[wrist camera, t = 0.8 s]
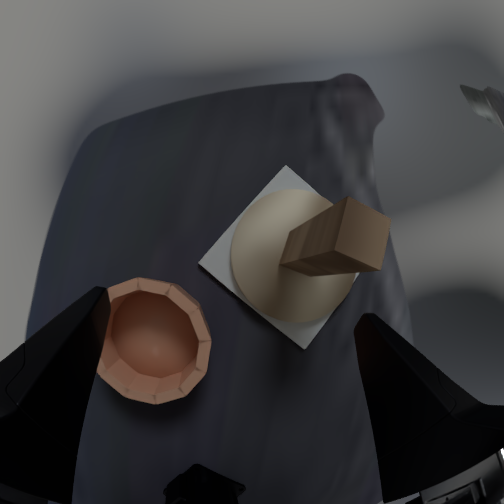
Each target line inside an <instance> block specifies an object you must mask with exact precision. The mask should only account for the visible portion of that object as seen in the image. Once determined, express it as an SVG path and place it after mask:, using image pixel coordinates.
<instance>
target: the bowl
mask: <svg viewBox="0 0 504 504" xmlns="http://www.w3.org/2000/svg"><path fill="white" fill-rule="evenodd" d="M107 290H108V293H109V299H110V304H111V313H110V318H109V322H108V326H107V331H106V336H105V341H104V346H103V350H102V354H101V358H100V361H99V364H98V368H97V372H98V374H99V375H100V374H101V375H100V377H101V378H103V379H104V380H105V381H106V382H107V383H108V384H109V385H111V386H112V387H113V388H114V389H115V390H117V391H118V392H119V393H120V394H121V395H123V396H125V397H126V398H130V399H134V400H138V401H142V402H146V403H151V404H160V403H164V402H168V401H171V400H175V399H178V398H182V397H185V395H186V396H187V394H188V393H189V392H190V391H191V390H192V389H193V388H194V387H195V386H196V384H197V383H198V382H199V381H200V380H201V379H202V378H203V376H204V375H205V374H206V372H207V367H208V360H209V354H210V347H211V335H210V329H209V327H208V324H207V322H206V319H205V316H204V314H203V311H202V308H201V306H200V304H199V302H198V301H196V300H195V299H194V298H193V297H192V296H191V295H189V294H188V293H187V292H186V291H185V290H184V289H182V288H181V287H180V286H179V285H177V284H174V283H169V282H164V281H159V280H154V279H149V278H139V277H138V278H134V279H132V280H129V281H126V282H123V283H121V284H118V285H115V286H112V287H110V288H108V289H107Z"/></svg>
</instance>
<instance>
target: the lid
mask: <svg viewBox="0 0 504 504" xmlns="http://www.w3.org/2000/svg"><path fill="white" fill-rule="evenodd" d="M390 223H391V219H390V218H388V217H386V216H384V215H383V214H381V213H379V212H377V211H375V210H374V209H372V208H370V207H368V206H366V205H364V204H362V203H360V202H358V201H357V200H355V199H353V198H351V197H349V196H348V197H346V198H344V199H343V200H341V201H339V202H338V203H336V204H334V205H333V204H332V203H331V202H329V201H328V200H327V199H325V198H323V197H322V196H320V195H318V194H315V193H313V192H310V191H305V190H300V189H285V190H279V191H276V192H272V193H270V194H268V195H266V196H263V197H262V198H260V199H259V200H257V201H256V202H255V203H254V204H253V205H251V206H250V207H249V209H248V210H247V211H246V212H245V213H244V215H243V216H242V218H241V220H240V221H239V223H238V225H237V227H236V229H235V232H234V235H233V238H232V244H231V266H232V270H233V274H234V277H235V280H236V282H237V285H238V287H239V288H240V290H241V292H242V293H243V295H244V296H245V297H246V299H247V300H248V301H249V302H250V303H251V304H252V305H253V306H254V307H256V308H257V309H258V310H259V311H261V312H263V313H264V314H266V315H268V316H270V317H273V318H275V319H277V320H281V321H285V322H293V323H299V322H308V321H312V320H315V319H318V318H321V317H323V316H325V315H327V314H328V313H330V312H331V311H333V310H334V309H335V308H336V307H337V306H338V305H339V304H340V303H341V302H342V301H343V300H344V298H345V297H346V295H347V294H348V292H349V291H350V289H351V287H352V284H353V282H354V279H355V275H356V273H360V272H370V271H380V270H381V267H382V262H383V258H384V254H385V249H386V244H387V239H388V234H389V229H390Z"/></svg>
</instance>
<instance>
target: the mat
mask: <svg viewBox="0 0 504 504" xmlns="http://www.w3.org/2000/svg"><path fill="white" fill-rule="evenodd" d="M285 189H300V190H305V191H310V192H313V193H315V194H318V193H317V192H316V191H315V190H314V189H313V188H312V187H310V186H309V185H308V184H307V183H306V182H305V181H304V180H302V179H301V178H300V177H299V176H298V175H297V174H296V173H294V172H293V171H292V170H291V169H290V168H289V167H287V166H286V165H285V166H284V167H283V169H282V170H281V171H280V172H279V173H278V174H277V175H276V176H275V177H274V178H273V179H272V180H271V182H270V183H269V184H268V185H267V186H266V187H265V188H264V189H263V190H262V191H261V192H260V194H259V195H258V196H257V197H256V198H255V199H254V200H253V201H252V202H251V203H250V205H249V206H248V207H247V208H246V209H245V210H244V211H243V212H242V214H241V215H240V216H239V217H238V218H237V219H236V220H235V221H234V223H233V224H232V225H231V226H230V227H229V228H228V229H227V230H226V232H225V233H224V234H223V235H222V236H221V237H220V238H219V240H218V241H217V242H216V243H215V244H214V245H213V246H212V248H211V249H210V250H209V251H208V252H207V253H206V255H205V256H204V257H203V258H202V259H201V260H200V262H199V264H200V265H201V266H202V267H204V268H205V269H206V270H207V271H208V272H209V273H211V274H212V275H213V276H214V277H215V278H216V279H218V280H219V281H220V282H221V283H222V284H224V285H225V286H226V287H227V288H228V289H229V290H231V291H232V292H233V293H234V294H235V295H237V296H238V297H239V298H240V299H241V300H243V301H244V302H245V303H246V304H248V305H249V306H250V307H251V308H252V309H254V310H255V311H256V312H257V313H259V314H260V315H261V316H262V317H264V318H265V319H266V320H267V321H269V322H270V323H271V324H272V325H274V326H275V327H276V328H277V329H279V330H280V331H281V332H282V333H284V334H285V335H286V336H287V337H289V338H290V339H291V340H293V341H294V342H295V343H296V344H298V345H299V346H300V347H302V348H303V349H306V348H307V346H308V345H309V344H310V342H311V341H312V340H313V338H314V337H315V336H316V335H317V333H318V332H319V331H320V329H321V328H322V326H323V325H324V324H325V322H326V321H327V320H328V318H329V317H330V316H331V314H332V313H333V311H334V310H335V309H336V308H335V309H334V310H333V311H331V312H330V313H328V314H327V315H325V316H323V317H321V318H318V319H315V320H312V321H308V322H299V323H293V322H285V321H281V320H277V319H275V318H273V317H270V316H268V315H266V314H264V313H263V312H261V311H259V310H258V309H257V308H256V307H254V306H253V305H252V304H251V303H250V302H249V301H248V300H247V299H246V297H245V296H244V295H243V293H242V292H241V290H240V288H239V287H238V285H237V282H236V280H235V277H234V274H233V270H232V266H231V244H232V238H233V235H234V232H235V229H236V227H237V225H238V223H239V221H240V220H241V218H242V216H243V215H244V213H245V212H246V211H247V210H248V209H249V207H250V206H251V205H253V204H254V203H255V202H256V201H257V200H259V199H260V198H262V197H263V196H266V195H268V194H270V193H272V192H276V191H279V190H285ZM318 195H319V194H318ZM358 275H359V273H356V275H355V279H356V278H357V276H358ZM355 279H354V281H355Z"/></svg>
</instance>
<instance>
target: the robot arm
mask: <svg viewBox="0 0 504 504" xmlns="http://www.w3.org/2000/svg"><path fill="white" fill-rule="evenodd" d="M110 313H111V304H110V299H109V293H108V290H107V288H104V287H98V286H96V287H94V288H93V289H91V290H90V291H88V292H87V293H86V294H84V295H83V296H82V297H80V298H79V299H78V300H76V301H75V302H74V303H72V304H71V305H70V306H69V307H67V308H66V309H65V310H63V311H62V312H61V313H60V314H58V315H57V316H56V317H54V318H53V319H52V320H51V321H49V322H48V323H47V324H46V325H44V326H43V327H42V328H41V329H40V330H38V331H37V332H36V333H35V334H33V335H32V336H31V337H30V338H29V339H27V340H26V341H25V343H23V344H21V345H20V346H19V347H18V348H17V349H16V350H14V351H13V352H12V353H11V354H10V355H8V356H7V357H6V358H5V359H3V360H2V361H1V362H0V504H48V500H49V501H53V502H56V503H60V504H71V503H72V493H73V483H74V475H75V467H76V461H77V454H78V448H79V442H80V437H81V432H82V427H83V422H84V418H85V413H86V409H87V405H88V401H89V397H90V393H91V389H92V385H93V382H94V378H95V374H96V371H97V368H98V364H99V361H100V358H101V354H102V350H103V346H104V341H105V336H106V331H107V326H108V322H109V318H110ZM354 338H355V344H356V351H357V358H358V364H359V370H360V374H361V378H362V383H363V387H364V391H365V396H366V400H367V405H368V410H369V415H370V420H371V425H372V430H373V435H374V441H375V446H376V452H377V459H378V466H379V473H380V480H381V488H382V496H383V502H384V503H388V502H392V501H395V500H397V499H401V498H404V497H407V496H409V495H412V494H415V493H418V492H419V494H420V496H418V497H417V498H415V499H413V500H411V501H409V502H406V503H405V504H504V406H503V405H487V404H483V403H481V402H479V401H478V400H477V399H475V398H474V397H473V396H471V395H470V394H469V393H467V392H466V391H465V390H464V389H462V388H461V387H460V386H459V385H457V384H456V383H455V382H453V381H452V380H451V379H450V378H449V377H448V376H446V375H445V374H444V373H443V372H442V371H441V370H440V369H438V368H437V367H436V366H435V365H434V364H433V363H432V362H430V361H429V360H428V359H427V358H426V357H425V356H424V355H423V354H421V353H420V352H419V351H418V350H417V349H416V348H415V347H413V346H412V345H411V344H410V343H409V342H408V341H406V340H405V339H404V338H403V337H402V336H401V335H399V334H398V333H397V332H396V331H395V330H393V329H392V328H391V327H390V326H389V325H388V324H386V323H385V322H384V321H383V320H382V319H380V318H379V317H378V316H377V315H376V314H374V313H364V314H363V315H362V316H361V318H360V320H359V321H358V323H357V325H356V326H355V328H354ZM196 468H199V469H196ZM240 488H242V489H240ZM245 490H246V488H245V486H244V485H242V484H240V483H238V482H235V481H233V480H231V479H229V478H226V477H224V476H222V475H220V474H218V473H216V472H214V471H212V470H210V469H208V468H206V467H204V466H202V465H200V464H194V465H192V466H191V467H190V468H189V469H188V470H187V471H186V472H185V473H183V474H179V475H178V476H177V477H176V478H175V479H174V480H172V481H171V482H170V483H169V484H168V485H167V488H165V489H164V491H163V494H164V495H165V496H166V503H165V504H238V500H237V497H238V496H239V495H240V494H242V493H243V492H244V491H245Z"/></svg>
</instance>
